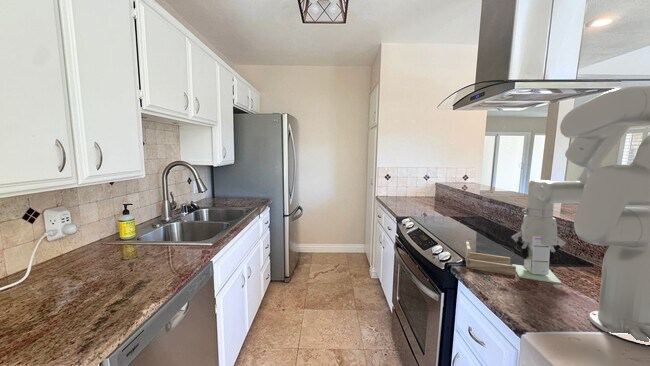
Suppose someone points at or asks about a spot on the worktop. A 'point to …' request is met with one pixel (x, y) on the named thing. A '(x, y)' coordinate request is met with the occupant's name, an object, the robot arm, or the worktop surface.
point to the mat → (536, 275)
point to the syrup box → (537, 257)
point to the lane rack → (489, 262)
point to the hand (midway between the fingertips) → (536, 259)
